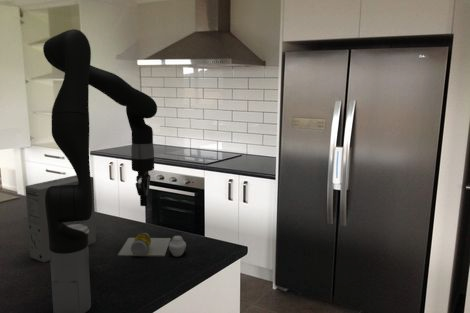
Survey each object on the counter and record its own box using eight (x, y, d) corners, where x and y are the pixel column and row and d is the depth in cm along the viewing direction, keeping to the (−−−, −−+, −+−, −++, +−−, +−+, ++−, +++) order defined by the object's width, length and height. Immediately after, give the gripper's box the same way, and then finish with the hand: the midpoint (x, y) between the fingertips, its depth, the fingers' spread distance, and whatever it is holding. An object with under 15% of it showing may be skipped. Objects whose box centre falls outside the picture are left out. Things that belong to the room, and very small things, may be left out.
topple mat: (164, 256, 143) (164, 255, 143) (117, 255, 142) (117, 254, 142) (170, 239, 158) (170, 238, 158) (128, 238, 158) (128, 237, 158)
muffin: (175, 259, 140) (175, 240, 139) (164, 254, 144) (164, 235, 143) (189, 254, 144) (189, 235, 143) (178, 249, 149) (178, 231, 147)
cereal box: (82, 238, 158) (79, 174, 154) (96, 242, 154) (93, 176, 150) (29, 257, 140) (24, 185, 135) (44, 263, 136) (39, 189, 131)
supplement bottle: (134, 238, 140) (139, 228, 150) (128, 253, 141) (134, 241, 151) (149, 244, 140) (154, 234, 150) (143, 259, 141) (148, 247, 151)
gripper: (149, 159, 134) (151, 211, 137) (157, 153, 147) (158, 200, 150) (126, 159, 134) (128, 211, 137) (136, 153, 147) (137, 200, 150)
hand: (143, 205), depth 143 cm, fingers closed
